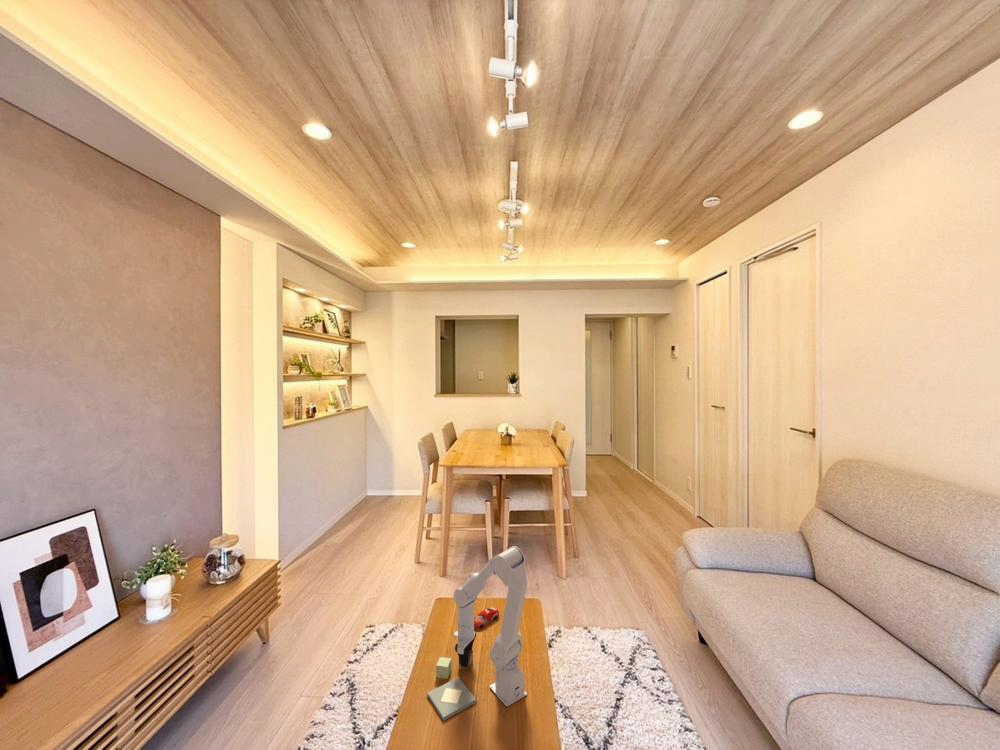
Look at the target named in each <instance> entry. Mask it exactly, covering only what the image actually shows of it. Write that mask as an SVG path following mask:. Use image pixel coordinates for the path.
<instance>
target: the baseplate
mask: <svg viewBox="0 0 1000 750" xmlns="http://www.w3.org/2000/svg"><path fill="white" fill-rule="evenodd" d="M426 695H427V698H428V699H429V701H430V702H431V704H432V705H433V707H434V709H435V710H436V712H437V713H438V714H439V716H440V717H441V719H442V721H446V720H448V719H449V718H452V717H453V716H455V715H457V714H458V713H460V712H463V711H464V710H465V709H467V708H469V707H470V706H473V705H474V704H476V703H477V699H476V698H475V696H474V695H473V693H472V692H471V691H470V690H469V689H468V687H467V686H466V685H465V683H464V682H463V681H462V680H461V679H460V677H456V678H454V679H452V680H450V681H448V682H446V683H444V684H442V685H439V687H436V688H434V689H432V690H430V691H428V692H427V694H426Z"/></svg>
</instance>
